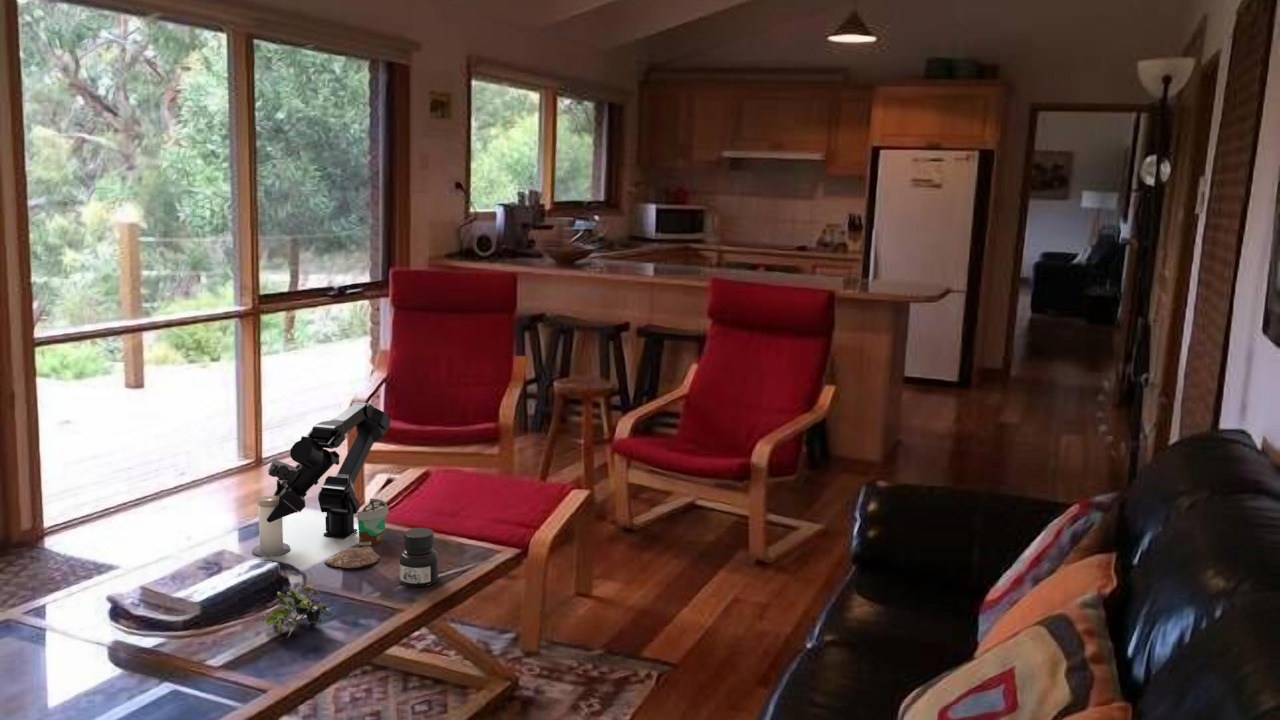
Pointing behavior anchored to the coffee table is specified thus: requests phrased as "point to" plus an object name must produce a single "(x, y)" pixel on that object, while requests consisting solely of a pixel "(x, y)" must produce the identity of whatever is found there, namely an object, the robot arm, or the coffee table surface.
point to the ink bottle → (418, 558)
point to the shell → (353, 559)
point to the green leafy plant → (297, 608)
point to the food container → (372, 523)
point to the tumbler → (269, 525)
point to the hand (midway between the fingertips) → (267, 515)
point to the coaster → (258, 552)
